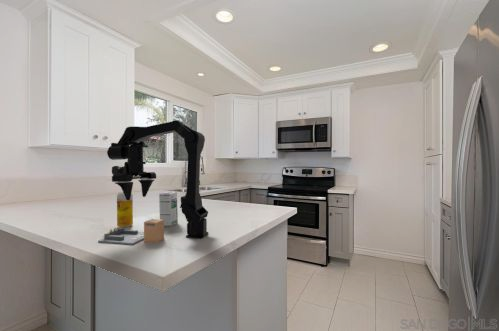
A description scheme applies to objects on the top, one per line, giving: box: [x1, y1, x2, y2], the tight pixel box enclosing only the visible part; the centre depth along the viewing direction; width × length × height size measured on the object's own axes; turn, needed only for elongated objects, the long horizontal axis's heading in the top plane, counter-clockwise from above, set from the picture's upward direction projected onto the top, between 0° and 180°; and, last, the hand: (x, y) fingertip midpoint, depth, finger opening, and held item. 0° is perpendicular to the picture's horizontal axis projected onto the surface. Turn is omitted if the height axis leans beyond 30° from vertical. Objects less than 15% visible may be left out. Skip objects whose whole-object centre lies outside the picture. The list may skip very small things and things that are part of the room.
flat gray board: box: [97, 226, 144, 246], centre depth 87 cm, size 14×12×3 cm
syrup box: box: [158, 191, 179, 227], centre depth 106 cm, size 6×6×14 cm
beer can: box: [116, 191, 134, 229], centre depth 103 cm, size 6×6×15 cm
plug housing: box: [143, 218, 165, 244], centre depth 84 cm, size 5×5×7 cm
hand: (136, 198), depth 93 cm, fingers open, 9 cm apart
